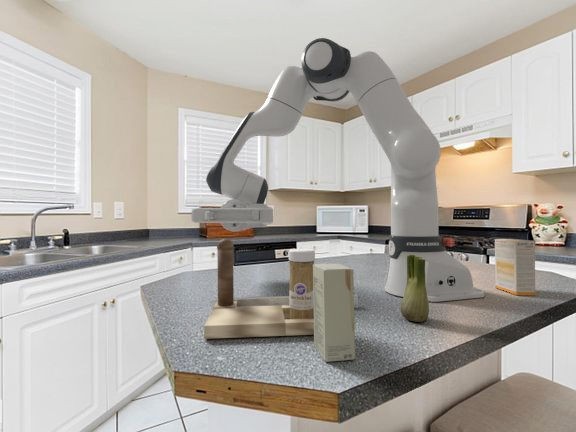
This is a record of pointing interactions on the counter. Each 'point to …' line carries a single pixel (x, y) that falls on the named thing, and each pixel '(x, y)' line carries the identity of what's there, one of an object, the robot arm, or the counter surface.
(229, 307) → the wooden peg stand
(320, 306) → the skincare box
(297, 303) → the sprinkles bottle
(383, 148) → the robot arm
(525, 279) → the supplement box
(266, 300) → the rail
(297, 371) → the counter surface
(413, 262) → the fennel bulb
